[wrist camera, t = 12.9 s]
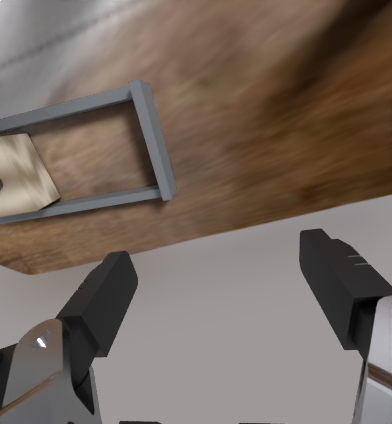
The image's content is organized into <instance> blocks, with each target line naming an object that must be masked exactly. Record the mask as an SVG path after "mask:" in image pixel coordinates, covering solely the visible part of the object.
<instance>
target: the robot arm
mask: <svg viewBox="0 0 392 424" xmlns="http://www.w3.org/2000/svg"><path fill="white" fill-rule="evenodd" d="M299 255H300V256H299V261H300V267H301V271H302V273H303V275H304V277H305V278H306V281H307V282H308V284H309V286H310V288H311V290H312V292H313V294H314V295H315V297H316V299H317V301H318V302H319V304H320V306H321V308H322V310H323V312H324V314H325V315H326V317H327V319H328V321H329V323H330V325H331V327H332V328H333V330H334V332H335V334H336V335H337V337H338V339H339V341H340V343H341V345H342V347H343V348H344V350H358V351H359V353H360V355H361V356H362V358H363V363H362V368H361V374H360V379H359V385H358V390H357V396H356V402H355V408H354V413H353V419H352V424H392V286H391V285H390V284H389V283H388V282H387V281H386V280H385V279H384V278H383V277H382V276H381V275H380V274H379V273H378V272H377V271H376V270H375V269H374V268H373V267H372V266H371V265H368V262H367V261H366V260H365V259H364V258H363V257H360V254H359V253H358V252H357V251H356V250H354V249H353V247H351V246H350V245H348V244H346V243H345V242H343V241H341V240H339V239H331V238H330V237H329V236H328V235H327V234H326V233H325V232H324V231H323V230H322V229H312V230H304V231H301V232H300V253H299ZM137 285H138V277H137V274H136V271H135V269H134V266H133V264H132V261H131V259H130V256H129V254H128V252H126V251H120V252H111V253H109V254H108V255H107V256H106V258H105V259H104V260H103V262H102V263H101V264H100V265H98V266H97V267H96V268H95V269H93V270H92V271H91V272H90V273H89V275H88V276H87V277H86V279H85V280H84V282H83V283H82V284H81V285H80V286H79V288H78V290H76V292H75V293H74V294H73V296H72V297H71V298H70V300H69V301H68V302H67V303H66V305H65V306H64V307H63V309H62V310H61V311H60V312H59V314H58V315H57V316H56V318H55V319H49V320H46V321H44V322H42V323H40V324H38V325H36V326H35V327H33V328H32V329H31V330H29V331H28V332H27V333H26V334H25V335H24V336H23V337H22V338H21V340H20V341H19V342H18V343H17V344H14V345H11V346H8V347H5V348H2V349H0V424H102V421H101V416H100V410H99V403H98V396H97V390H96V384H95V376H94V371H93V367H92V366H91V364H92V361H93V359H94V358H95V357H107V355H108V353H109V351H110V348H111V346H112V344H113V341H114V339H115V337H116V335H117V332H118V330H119V327H120V325H121V323H122V321H123V318H124V316H125V314H126V312H127V309H128V307H129V305H130V302H131V300H132V298H133V295H134V293H135V291H136V289H137ZM119 424H161V423H158V422H141V421H120V422H119ZM239 424H265V423H239ZM266 424H267V423H266Z"/></svg>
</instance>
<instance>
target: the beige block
mask: <svg viewBox="0 0 392 424" xmlns="http://www.w3.org/2000/svg"><path fill="white" fill-rule="evenodd" d="M58 198H60V196H59V194H58V192H57V190H56V188H55V186H54V184H53V182H52V180H51V178H50V176H49V174H48V172H47V170H46V168H45V167H44V165H43V163H42V161H41V159H40V157H39V155H38V153H37V151H36V149H35V147H34V145H33V143H32V141H31V140H30V138H29V136H28V134H27V133H25V134H16V135H8V136H0V217H4V216H9V215H15V214H21V213H27V212H32V211H37V210H39V209H41V208H43V207H44V206H46V205H48V204H50V203H51V202H53V201H55V200H57V199H58Z"/></svg>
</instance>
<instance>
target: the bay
mask: <svg viewBox="0 0 392 424" xmlns="http://www.w3.org/2000/svg"><path fill="white" fill-rule="evenodd" d="M128 84H129V85H128V86H124V87H121V88H117V89H113V90H109V91H105V92H102V93H98V94H94V95H90V96H86V97H83V98H79V99H75V100H71V101H67V102H64V103H60V104H56V105H52V106H49V107H45V108H41V109H37V110H33V111H30V112H26V113H22V114H18V115H14V116H11V117H7V118H3V119H0V133H3V132H7V131H11V130H15V129H19V128H23V127H27V126H31V125H35V124H39V123H43V122H47V121H51V120H55V119H59V118H63V117H67V116H71V115H75V114H79V113H83V112H87V111H91V110H95V109H99V108H103V107H107V106H111V105H115V104H119V103H123V102H127V101H131V100H133V101H134V104H135V107H136V111H137V114H138V118H139V121H140V124H141V128H142V131H143V134H144V138H145V141H146V145H147V148H148V151H149V155H150V158H151V162H152V165H153V168H154V172H155V175H156V179H157V182H158V184H157V185H152V186H146V187H141V188H135V189H129V190H124V191H118V192H113V193H107V194H101V195H96V196H90V197H85V198H79V199H74V200H68V201H62V202H57V203H51V204H48V205H46V206H44V207H43V208H41V209H39V210H37V211H32V212H27V213H21V214H15V215H9V216H4V217H0V224H5V223H11V222H17V221H23V220H29V219H35V218H41V217H46V216H52V215H58V214H64V213H70V212H76V211H82V210H88V209H94V208H100V207H106V206H112V205H118V204H123V203H129V202H135V201H141V200H147V199H153V198H159V197H162V199H163V201H166V200H172V198H173V196H174V194H175V192H176V189H177V188H176V184H175V181H174V177H173V173H172V169H171V165H170V161H169V157H168V153H167V150H166V146H165V142H164V138H163V134H162V130H161V126H160V122H159V119H158V115H157V111H156V107H155V103H154V99H153V95H152V91H151V88H150V84H149V83H146V82H144V81H141V80H135V81H131V82H128Z"/></svg>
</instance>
